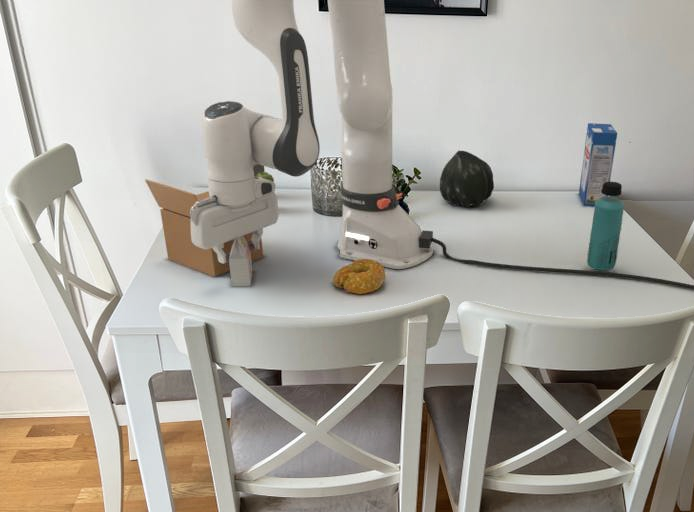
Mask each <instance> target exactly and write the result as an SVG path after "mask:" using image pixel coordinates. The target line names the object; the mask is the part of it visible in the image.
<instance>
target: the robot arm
mask: <svg viewBox="0 0 694 512" xmlns="http://www.w3.org/2000/svg"><path fill="white" fill-rule="evenodd" d="M327 7H328V14H329V16H328V17H329V21H330V22H329V23H330V31H331V32H330V33H331V39H332V40H331V41H332V51H333V52H332V53H333V63H334V74H335V75H334V77H335V85H336V87H335V88H336V97H337V104H338V105H337V106H338V109H339V113H340V115H341V175H342V176H341V177H342V179H341V180H342V184H341V186H340V203H341V204H342V217H341V225H340V233H339V237H338V241H337V249H338V250H339V258H341V259H345V260H349V261H353V262H355V261H356V260H361V259H370V260H374V261H377V262H379V263H380V264H381V265H383V267H384V268H389V269H393V270H403V269H409V268H411V267H412V268H413V267H415V266H417V265H420V264H422V263H423V262H425V261H427V260H428V259H430V258H431V257H432V255H433V253H434V251H433V250H434V249H433V247H432V244H433V243H434V244H436V245H439V247H441V249H442V255H443V256H444V257H445V258H446V259H448V260H450V261H454V262H457V263H461V264H465V265H477V266H482V267H488V268H496V269H497V268H499V269H508V270H509V269H510V270H519V271H529V272H546V273H556V274H557V273H559V274H574V275H575V274H576V275H587V276H600V277H601V276H602V277H612V278H620V279H621V278H622V279H630V280H637V281H638V280H639V281H645V282H650V283H651V282H652V283H657V284H662V285H668V286H674V287H679V288H685V289H690V290H694V284H689V283H684V282H680V281H675V280H674V281H673V280H669V279H664V278H657V277H651V276H643V275H638V274H628V273H620V272H610V271H601V270H587V269H573V268H555V267H542V266H541V267H540V266H527V265H516V264H515V265H514V264H505V263H494V262H486V261H482V260H475V259H461V258H460V259H459V258H456V257H455V258H454V257H452V256H451V255H450V254H448V252H447V246H446V244H445V243H444V242H443V241H441V240H439V239H436V238H434V231H433V230H424V229H423V230H422V228H421V226H420V225H419V224H418V223H417V222H416V221H415V220H414V219H413V217H411V216H410V215H409V214H408V213H407V211H406V210H404V209H403V207H402V206H400V204H399V203H400V202H399V200H400V199H402V198H403V196H402V195H403V192H400V193H397V192H396V189H395V186H394V185H393V85H392V82H391V81H392V79H391V70H390V69H391V68H390V58H389V45H388V44H389V43H388V34H387V33H388V31H387V21H386V12H385V10H386V9H385V0H327ZM231 12H232V18H233V22H234V25H235V28H236V30H237V31H238V33H239V34H240V35H241V36H242V39H244V40H245V41H246V42H247V43H248V44H249V45H251V46H252V47H254V48H255V49H256V50H257V51H259V52H260V53H261V54H262V55H264V56H265V57H266V58H267V60H269V62H270V63H271V65H272V66H273V67H274V69H275V71H276V74H277V78H278V84H279V85H278V86H279V94H280V105H281V114H282V116H281V117H282V118H278V117H274V116H273V115H272V116H271V115H268V114H263V113H259V112H256V111H253V110H250V109H248V108H247V107H245V106H244V105H243V104H242V103H240V102H237V101H234V100H233V101H231V100H230V101H229V100H227V101H220V102H216V103H213V104H211V105H209V106H208V107H207V108H206V109H205V110H204V112H203V116H202V121H201V135H202V146H203V154H204V157H205V160H206V163H207V171H206V178H207V187H208V191H209V195H210V197H208V198H206V199H203V200H199V201H196V202H195V204H194V205H193V207H192V208H191V210H190V215H191V240H192V243H193V244H194V245H195V246H197V247H199V248H202V249H209V248H212V249H213V250H214V251H215V252H216V254H217V256H218V261H219V262H220V263H223V264H224V263H226V262H228V261H229V254H228V253H225V252H224V251H223V250H222V248H224V244H223V243H225V242H228V241H230V240H233V239H235V238H237V237H241V236H243V235H246V234H249V233H251V232H253V234H252V238H251V241H249V242H248V244H249V246H250V250H253V251H256V250H258V249H260V244H259V242H260V239H261V238H262V237H263V234H264V229H265V228H267V227H270V226H272V225H276V224H277V222H278V220H279V217H280V215H279V203H278V199H277V195H276V193H275V192H276V182H275V181H274V182H272V181H269V180H266V179H263V178H259V177H255V176H254V171H253V166H254V165H257V164H260V165H262V166H264V167H265V168H269V169H274V170H277V171H279V172H281V173H282V174H286V175H288V176H291V177H294V178H295V177H301V176H304V175H305V174H306V173H308V172H310V171H311V169H312V168H313V167H314V166H315V165H316V163H317V161H318V160H319V157H320V150H321V149H320V140H319V135H318V131H317V127H316V124H315V115H314V107H313V106H314V105H313V95H312V85H311V72H310V63H309V55H308V49H307V45H306V42H305V41H306V40H305V39H304V37H303V35H302V34H301V33H300V31H299V29H298V25H297V21H296V17H295V7H294V0H231ZM273 192H274V193H275V194H274V193H273ZM196 206H197V207H196Z"/></svg>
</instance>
